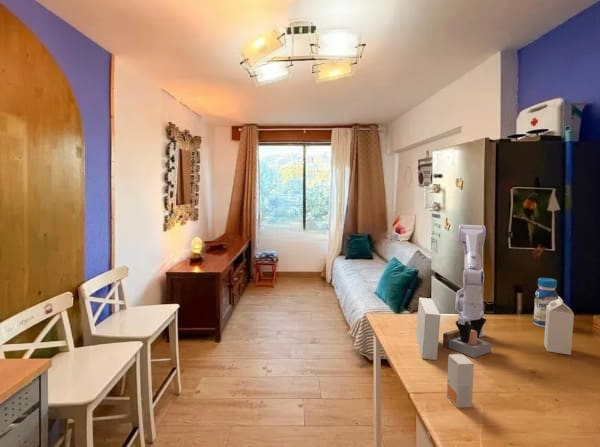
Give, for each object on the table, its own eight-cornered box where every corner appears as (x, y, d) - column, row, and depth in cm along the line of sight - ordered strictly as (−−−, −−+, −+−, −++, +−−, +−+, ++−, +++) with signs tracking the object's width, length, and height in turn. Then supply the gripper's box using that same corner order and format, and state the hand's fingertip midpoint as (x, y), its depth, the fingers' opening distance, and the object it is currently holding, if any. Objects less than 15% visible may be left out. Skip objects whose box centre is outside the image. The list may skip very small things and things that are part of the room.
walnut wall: (463, 340, 145) (464, 327, 145) (466, 341, 144) (467, 328, 144) (442, 346, 139) (443, 333, 139) (446, 348, 138) (446, 334, 137)
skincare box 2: (445, 395, 105) (447, 354, 104) (460, 395, 106) (462, 353, 105) (456, 408, 99) (458, 364, 98) (472, 407, 100) (474, 363, 99)
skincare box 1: (438, 361, 127) (440, 314, 126) (421, 359, 128) (423, 313, 127) (430, 337, 148) (432, 297, 147) (415, 336, 149) (417, 296, 148)
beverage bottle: (556, 324, 165) (559, 278, 163) (556, 329, 158) (559, 282, 156) (533, 320, 169) (536, 276, 168) (532, 325, 162) (535, 279, 160)
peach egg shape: (474, 348, 138) (475, 329, 137) (477, 353, 134) (478, 333, 133) (462, 347, 138) (463, 328, 138) (465, 352, 135) (466, 332, 134)
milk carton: (566, 348, 139) (570, 297, 138) (571, 355, 133) (574, 302, 131) (543, 344, 142) (547, 294, 140) (547, 351, 136) (550, 299, 134)
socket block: (466, 342, 143) (466, 334, 143) (491, 351, 135) (491, 343, 134) (448, 347, 138) (449, 339, 138) (473, 357, 129) (474, 349, 129)
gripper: (471, 296, 143) (469, 331, 144) (450, 303, 133) (449, 341, 135) (490, 301, 137) (488, 337, 138) (470, 308, 128) (468, 347, 129)
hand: (470, 339), depth 136 cm, fingers open, 7 cm apart
